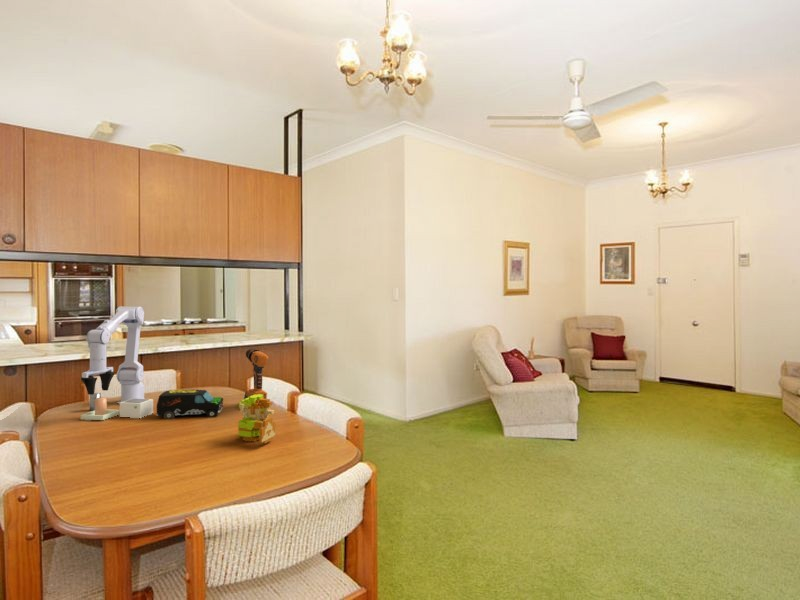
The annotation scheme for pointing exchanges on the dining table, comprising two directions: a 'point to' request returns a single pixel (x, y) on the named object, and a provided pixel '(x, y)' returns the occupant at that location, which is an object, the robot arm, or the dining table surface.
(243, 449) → the dining table surface
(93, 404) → the grey peg
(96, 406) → the terracotta peg
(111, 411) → the tray
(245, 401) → the toy
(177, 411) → the toy van
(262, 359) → the power drill
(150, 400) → the box
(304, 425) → the dining table surface
